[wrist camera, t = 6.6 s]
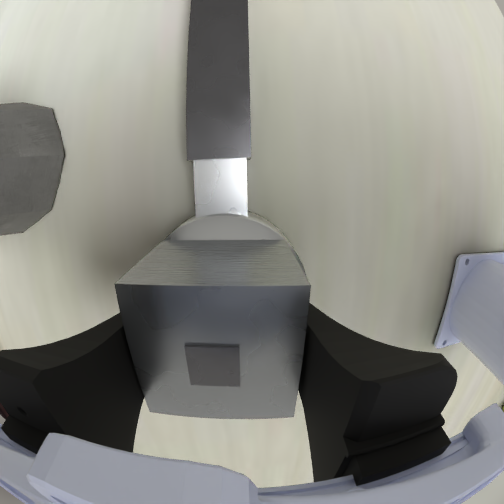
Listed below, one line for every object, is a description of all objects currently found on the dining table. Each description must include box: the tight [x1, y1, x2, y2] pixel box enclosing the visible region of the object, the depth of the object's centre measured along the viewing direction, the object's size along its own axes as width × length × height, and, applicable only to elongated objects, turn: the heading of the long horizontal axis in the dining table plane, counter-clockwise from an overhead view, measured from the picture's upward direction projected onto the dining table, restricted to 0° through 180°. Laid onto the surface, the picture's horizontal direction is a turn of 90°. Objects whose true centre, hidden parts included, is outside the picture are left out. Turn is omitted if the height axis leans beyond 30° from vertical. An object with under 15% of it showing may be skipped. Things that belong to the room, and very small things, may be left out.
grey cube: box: [115, 240, 311, 419], centre depth 10 cm, size 5×5×5 cm
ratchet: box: [165, 0, 306, 276], centre depth 11 cm, size 8×22×5 cm, turn 1°
